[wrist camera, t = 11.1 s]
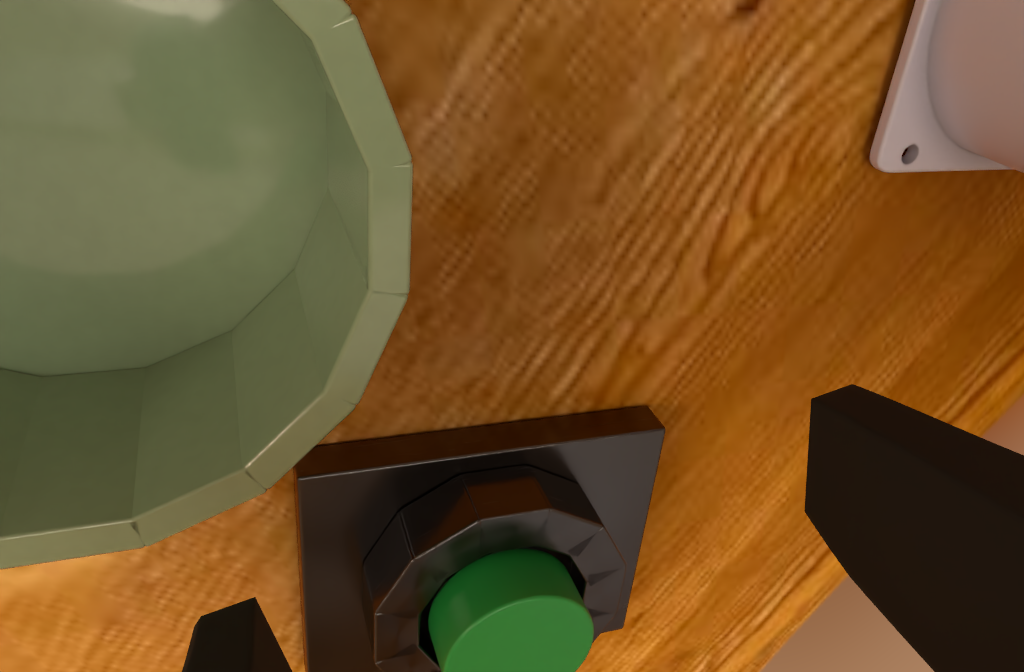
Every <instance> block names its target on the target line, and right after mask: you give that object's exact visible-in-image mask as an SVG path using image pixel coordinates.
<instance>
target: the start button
mask: <svg viewBox="0 0 1024 672" xmlns="http://www.w3.org/2000/svg"><path fill="white" fill-rule="evenodd" d="M428 627H429V632H430V636H431V639H432V642H433V646H434V649H435V652H436V656H437V659H438V662H439V666H440V669H441V672H575V671H576V670H577V669H578V668H579V667H580V665H581V664H582V663H583V661H584V660H585V658H586V656H587V655H588V653H589V650H590V648H591V645H592V642H593V636H594V627H593V621H592V618H591V616H590V614H589V612H588V610H587V608H586V606H585V604H584V602H583V600H582V598H581V596H580V594H579V592H578V590H577V588H576V586H575V584H574V582H573V580H572V578H571V577H570V575H569V573H568V571H567V569H566V567H565V566H564V565H563V564H562V562H560V561H559V560H558V559H557V558H555V557H554V556H552V555H550V554H548V553H546V552H543V551H540V550H535V549H527V548H518V549H512V550H507V551H501V552H495V553H492V554H489V555H486V556H484V557H481V558H480V559H478V560H476V561H475V562H473V563H471V564H470V565H468V566H466V567H465V568H463V569H461V570H460V571H458V572H457V573H455V574H454V575H453V576H452V577H451V578H450V579H449V580H448V581H447V582H446V583H445V584H444V585H443V587H442V588H441V589H440V590H439V592H438V594H437V595H436V597H435V599H434V601H433V603H432V605H431V609H430V612H429V619H428Z"/></svg>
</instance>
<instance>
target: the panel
mask: <svg viewBox="0 0 1024 672" xmlns="http://www.w3.org/2000/svg"><path fill="white" fill-rule="evenodd" d="M664 435H665V427H664V426H663V425H662V423H661V422H660V421H659V420H658V418H657V417H656V416H655V415H654V414H653V412H652V411H651V410H650V409H649V407H647V406H642V407H634V408H626V409H618V410H610V411H602V412H593V413H585V414H577V415H569V416H561V417H553V418H545V419H537V420H529V421H521V422H513V423H505V424H496V425H488V426H480V427H472V428H464V429H456V430H448V431H440V432H432V433H424V434H416V435H408V436H400V437H391V438H383V439H375V440H367V441H359V442H351V443H343V444H335V445H327V446H319V447H314V448H312V449H311V450H310V451H309V452H308V453H307V454H306V455H305V456H304V457H303V458H302V459H301V460H300V461H299V462H298V463H297V464H295V465H294V466H293V473H294V491H295V508H296V526H297V544H298V561H299V579H300V596H301V614H302V631H303V649H304V665H305V672H441V669H440V666H439V662H438V659H437V656H436V652H435V649H434V646H433V642H432V639H431V636H430V632H429V627H428V619H429V612H430V609H431V605H432V603H433V601H434V599H435V597H436V595H437V594H438V592H439V590H440V589H441V588H442V587H443V585H444V584H445V583H446V582H447V581H448V580H449V579H450V578H451V577H452V576H453V575H454V574H455V573H457V572H458V571H460V570H461V569H463V568H465V567H466V566H468V565H470V564H471V563H473V562H475V561H476V560H478V559H480V558H481V557H484V556H486V555H489V554H492V553H495V552H501V551H507V550H512V549H518V548H527V549H535V550H540V551H543V552H546V553H548V554H550V555H552V556H554V557H555V558H557V559H558V560H559V561H560V562H562V564H563V565H564V566H565V567H566V569H567V571H568V573H569V575H570V577H571V578H572V580H573V582H574V584H575V586H576V588H577V590H578V592H579V594H580V596H581V598H582V600H583V602H584V604H585V606H586V608H587V610H588V612H589V614H590V616H591V618H592V621H593V627H594V636H593V642H594V640H595V639H596V638H597V637H598V636H599V634H600V633H604V632H608V631H613V630H618V629H622V628H623V626H624V622H625V617H626V612H627V608H628V603H629V598H630V594H631V589H632V584H633V580H634V575H635V570H636V566H637V561H638V556H639V552H640V547H641V542H642V538H643V533H644V528H645V524H646V519H647V514H648V510H649V505H650V500H651V496H652V491H653V486H654V482H655V477H656V472H657V468H658V463H659V458H660V454H661V449H662V444H663V440H664ZM593 642H592V643H593Z"/></svg>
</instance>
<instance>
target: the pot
mask: <svg viewBox="0 0 1024 672" xmlns="http://www.w3.org/2000/svg"><path fill="white" fill-rule="evenodd" d="M411 160H412V155H411V152H410V150H409V147H408V145H407V142H406V140H405V137H404V135H403V132H402V130H401V127H400V125H399V122H398V120H397V117H396V114H395V112H394V109H393V107H392V104H391V102H390V99H389V97H388V94H387V92H386V89H385V87H384V84H383V82H382V79H381V76H380V74H379V71H378V69H377V66H376V64H375V61H374V59H373V56H372V54H371V51H370V49H369V46H368V44H367V41H366V39H365V36H364V33H363V31H362V28H361V26H360V23H359V21H358V18H357V16H356V15H355V14H354V13H353V12H352V10H351V7H350V6H349V5H348V4H347V3H346V1H345V0H0V569H7V568H14V567H20V566H27V565H33V564H40V563H47V562H53V561H60V560H66V559H73V558H80V557H86V556H93V555H99V554H106V553H113V552H119V551H126V550H132V549H139V548H143V547H144V546H150V545H152V544H155V543H157V542H159V541H161V540H163V539H165V538H168V537H170V536H172V535H174V534H176V533H179V532H181V531H183V530H185V529H187V528H189V527H192V526H194V525H196V524H198V523H200V522H202V521H205V520H207V519H209V518H211V517H213V516H216V515H218V514H220V513H222V512H224V511H226V510H229V509H231V508H233V507H235V506H237V505H240V504H242V503H244V502H246V501H248V500H250V499H253V498H255V497H257V496H259V495H261V494H264V493H265V492H266V491H267V490H266V489H270V488H271V487H272V486H273V485H274V484H275V483H276V482H277V481H278V480H280V479H281V478H282V477H283V476H284V475H285V474H286V473H287V472H288V471H289V470H290V469H291V468H292V467H293V466H294V465H295V464H297V463H298V462H299V461H300V460H301V459H302V458H303V457H304V456H305V455H306V454H307V453H308V452H309V451H310V450H311V449H312V448H314V447H315V446H316V445H317V444H318V443H319V442H320V441H321V440H322V439H323V438H324V437H325V436H326V435H327V434H328V433H329V432H331V431H332V430H333V429H334V428H335V427H336V426H337V425H338V424H339V423H340V422H341V421H342V420H343V419H344V418H345V417H346V416H348V415H349V414H350V413H351V412H352V411H353V410H354V409H355V407H356V404H358V403H359V402H360V399H361V397H362V395H363V393H364V391H365V389H366V387H367V385H368V382H369V380H370V378H371V376H372V374H373V372H374V370H375V367H376V365H377V363H378V361H379V359H380V357H381V355H382V352H383V350H384V348H385V346H386V344H387V342H388V340H389V338H390V335H391V333H392V331H393V329H394V327H395V325H396V323H397V320H398V318H399V316H400V314H401V312H402V310H403V308H404V305H405V303H406V301H407V299H408V293H409V291H410V273H411V235H412V198H413V164H412V161H411Z"/></svg>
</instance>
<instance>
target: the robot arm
mask: <svg viewBox="0 0 1024 672" xmlns="http://www.w3.org/2000/svg"><path fill="white" fill-rule="evenodd" d="M907 147H908V150H907V152H906V154H905V155H904V156H903V157H902V154H903V152H904V150H905V149H906V148H907ZM869 158H870V162H871V165H872V166H873V167H874V168H876V169H878V170H880V171H882V172H887V173H897V172H932V171H968V170H1004V169H1015V170H1017V171H1020V172H1022V173H1024V0H916V1H915V5H914V8H913V11H912V15H911V18H910V21H909V25H908V28H907V31H906V35H905V38H904V41H903V45H902V48H901V51H900V55H899V58H898V61H897V64H896V68H895V71H894V74H893V78H892V81H891V84H890V88H889V91H888V94H887V98H886V101H885V104H884V108H883V111H882V114H881V117H880V121H879V124H878V127H877V131H876V134H875V137H874V141H873V144H872V147H871V151H870V157H869ZM805 513H806V514H807V516H808V517H809V519H810V520H811V522H812V523H813V525H814V526H815V528H816V529H817V530H818V532H819V533H820V535H821V536H822V538H823V539H824V541H825V542H826V544H827V545H828V547H829V548H830V550H831V551H832V552H833V554H834V555H835V557H836V558H837V559H838V561H839V562H840V564H841V565H842V566H843V568H844V569H845V571H846V572H847V573H848V575H849V576H850V577H851V578H852V580H853V581H854V582H855V583H856V584H857V585H858V587H859V588H860V589H861V590H862V591H863V592H864V594H865V595H866V596H867V597H868V598H869V599H870V600H871V601H872V603H873V604H874V605H875V606H876V607H877V608H878V609H879V610H880V612H881V613H882V614H883V615H884V616H885V617H886V618H887V619H888V621H889V622H890V623H891V624H892V625H893V626H894V627H895V628H896V630H897V631H898V632H899V633H900V634H901V635H902V636H903V637H904V638H905V639H906V641H908V643H909V644H910V645H911V646H912V647H913V648H914V649H915V651H916V652H917V653H918V654H919V655H920V656H921V657H922V658H923V659H924V660H925V662H926V663H927V664H928V665H929V666H930V667H931V668H932V669H933V670H934V672H1024V455H1021V454H1019V453H1016V452H1014V451H1011V450H1009V449H1007V448H1004V447H1002V446H999V445H997V444H994V443H992V442H990V441H987V440H985V439H983V438H980V437H978V436H976V435H973V434H971V433H968V432H966V431H964V430H961V429H959V428H957V427H954V426H952V425H950V424H947V423H945V422H943V421H940V420H938V419H936V418H933V417H931V416H929V415H926V414H924V413H922V412H919V411H917V410H915V409H912V408H910V407H908V406H905V405H903V404H901V403H898V402H896V401H893V400H891V399H889V398H886V397H884V396H881V395H879V394H876V393H874V392H872V391H869V390H866V389H864V388H861V387H859V386H856V385H853V384H851V385H849V386H846V387H843V388H840V389H837V390H835V391H832V392H829V393H826V394H823V395H821V396H818V397H815V398H812V399H811V414H810V431H809V448H808V464H807V481H806V498H805ZM182 672H292V670H291V668H290V666H289V664H288V662H287V660H286V658H285V656H284V654H283V652H282V650H281V648H280V646H279V644H278V642H277V640H276V638H275V636H274V634H273V632H272V630H271V628H270V626H269V624H268V622H267V620H266V618H265V616H264V614H263V612H262V610H261V608H260V606H259V604H258V602H257V600H256V598H255V597H254V598H251V599H248V600H246V601H243V602H240V603H237V604H234V605H232V606H229V607H226V608H223V609H220V610H218V611H215V612H212V613H209V614H206V615H204V616H201V617H200V619H199V620H198V622H197V623H196V625H195V627H194V630H193V634H192V638H191V642H190V645H189V649H188V653H187V656H186V660H185V663H184V667H183V670H182Z"/></svg>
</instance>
